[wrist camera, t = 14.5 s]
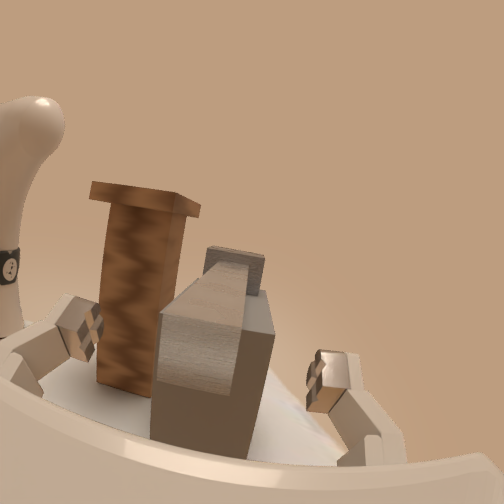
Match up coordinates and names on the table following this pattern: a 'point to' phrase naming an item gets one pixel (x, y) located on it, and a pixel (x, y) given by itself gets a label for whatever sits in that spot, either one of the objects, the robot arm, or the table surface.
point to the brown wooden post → (137, 278)
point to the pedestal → (217, 405)
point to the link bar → (209, 322)
